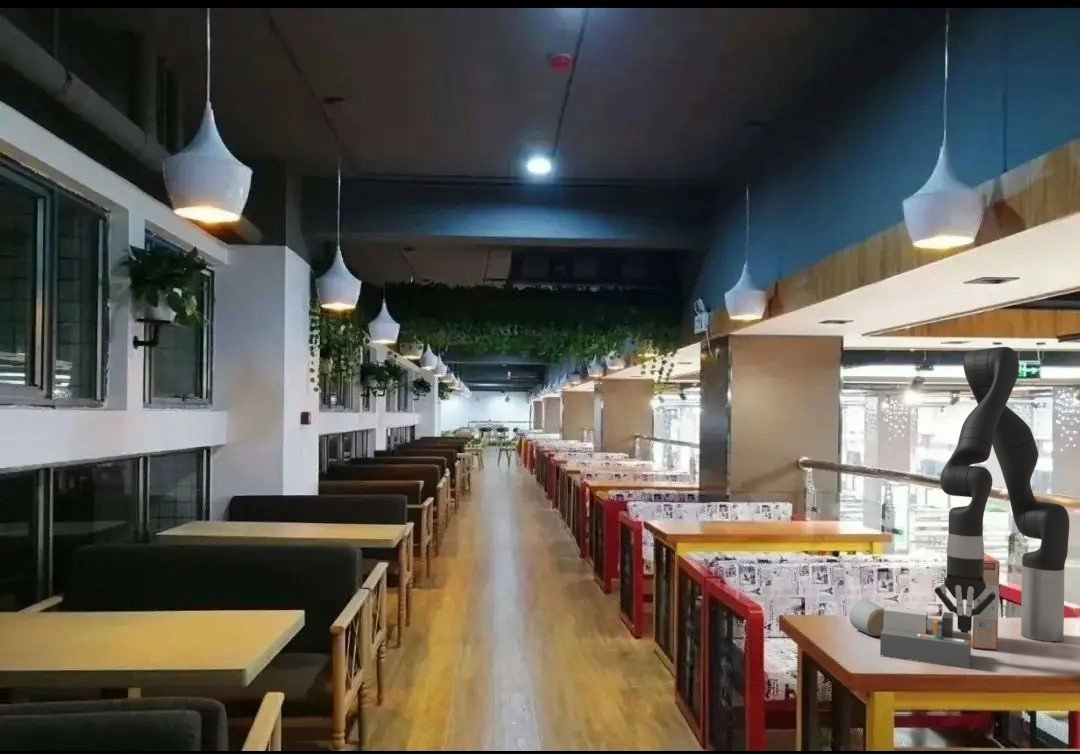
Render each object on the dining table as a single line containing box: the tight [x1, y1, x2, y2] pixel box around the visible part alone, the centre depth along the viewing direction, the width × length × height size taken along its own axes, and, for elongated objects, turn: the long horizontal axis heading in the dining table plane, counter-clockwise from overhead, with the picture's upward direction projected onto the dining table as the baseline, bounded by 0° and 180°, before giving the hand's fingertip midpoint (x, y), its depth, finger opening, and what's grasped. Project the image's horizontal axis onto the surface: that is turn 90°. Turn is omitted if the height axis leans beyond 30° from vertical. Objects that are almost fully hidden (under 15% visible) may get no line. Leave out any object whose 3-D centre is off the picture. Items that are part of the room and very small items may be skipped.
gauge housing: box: [879, 605, 972, 669], centre depth 208 cm, size 12×18×9 cm, turn 63°
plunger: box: [926, 611, 954, 638], centre depth 208 cm, size 9×11×4 cm
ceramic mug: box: [848, 599, 885, 638], centre depth 227 cm, size 11×8×8 cm
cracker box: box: [957, 552, 1000, 651], centre depth 221 cm, size 14×6×21 cm, turn 168°
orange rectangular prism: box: [933, 621, 937, 636], centre depth 204 cm, size 1×1×3 cm
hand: (964, 632), depth 206 cm, fingers closed
